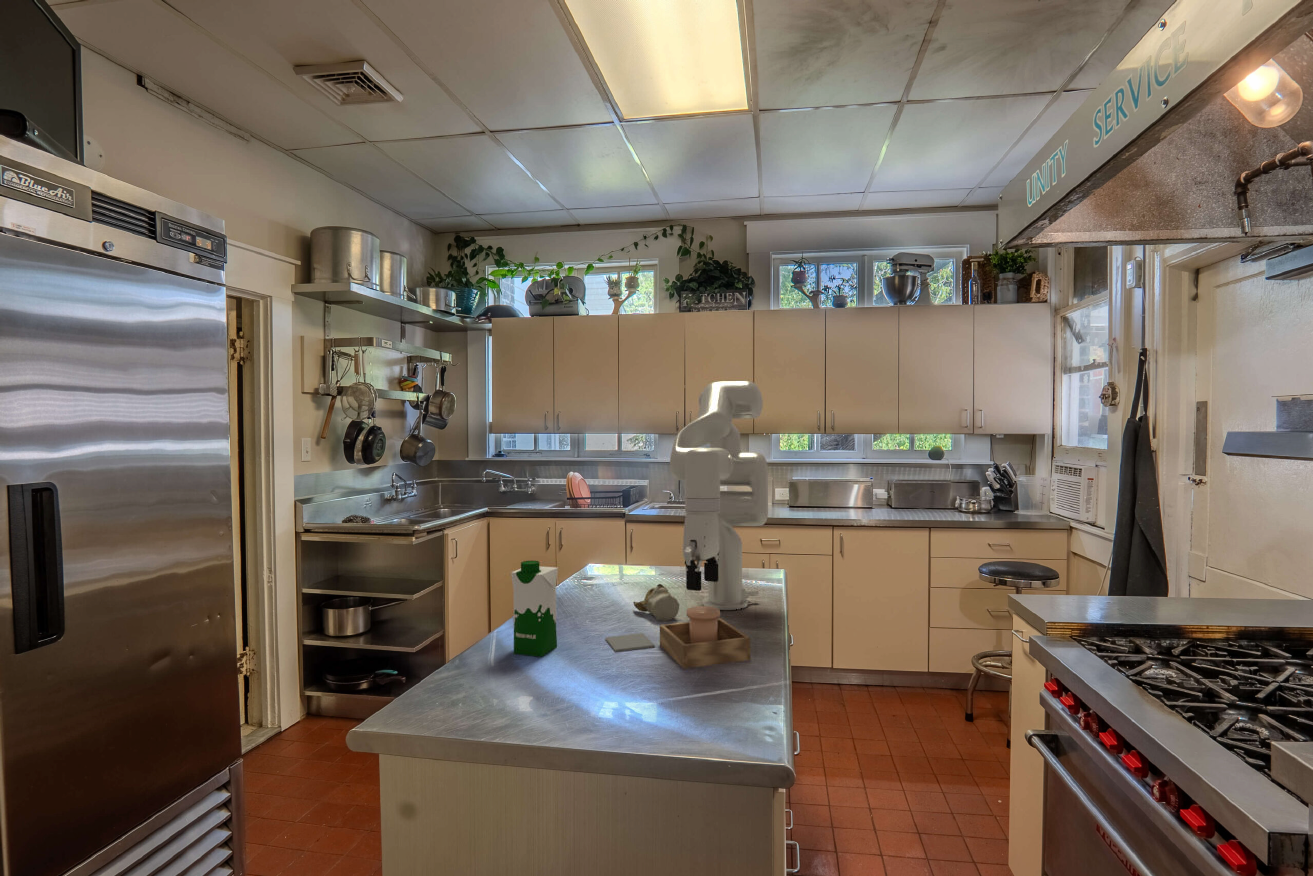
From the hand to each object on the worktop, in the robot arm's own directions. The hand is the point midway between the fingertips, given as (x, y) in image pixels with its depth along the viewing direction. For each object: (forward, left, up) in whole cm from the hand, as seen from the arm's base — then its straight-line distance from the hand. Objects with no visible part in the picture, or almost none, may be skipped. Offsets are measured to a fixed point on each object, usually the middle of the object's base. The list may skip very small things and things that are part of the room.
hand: (702, 585), depth 140 cm
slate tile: (+13, -11, -15) cm, 23 cm away
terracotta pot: (0, 0, -15) cm, 15 cm away
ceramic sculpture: (-1, -32, -16) cm, 35 cm away
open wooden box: (0, 0, -15) cm, 15 cm away
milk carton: (+34, -15, -15) cm, 40 cm away
